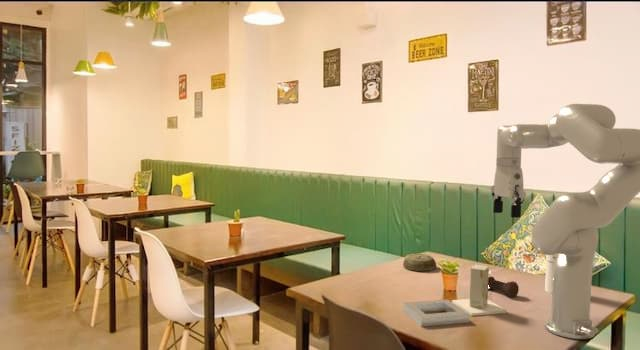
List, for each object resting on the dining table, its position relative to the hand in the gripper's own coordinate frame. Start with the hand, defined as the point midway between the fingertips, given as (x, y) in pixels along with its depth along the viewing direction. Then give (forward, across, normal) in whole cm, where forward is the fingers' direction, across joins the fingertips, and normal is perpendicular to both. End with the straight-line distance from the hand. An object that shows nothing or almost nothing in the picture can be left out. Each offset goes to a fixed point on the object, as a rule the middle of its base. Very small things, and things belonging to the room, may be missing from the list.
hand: (506, 214), depth 160 cm
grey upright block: (+28, -6, +13) cm, 31 cm away
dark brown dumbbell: (+29, +8, -2) cm, 30 cm away
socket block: (+28, -10, +30) cm, 42 cm away
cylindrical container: (+28, +3, -23) cm, 37 cm away
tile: (+28, -6, +13) cm, 32 cm away
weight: (+29, +42, +11) cm, 52 cm away
